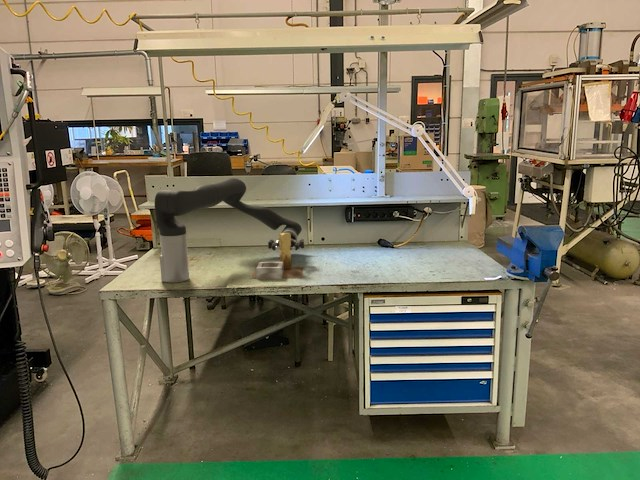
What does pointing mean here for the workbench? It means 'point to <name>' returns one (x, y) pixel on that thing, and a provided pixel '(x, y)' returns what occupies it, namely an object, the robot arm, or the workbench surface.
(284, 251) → the golden metal peg
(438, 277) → the workbench surface
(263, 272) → the socket block
